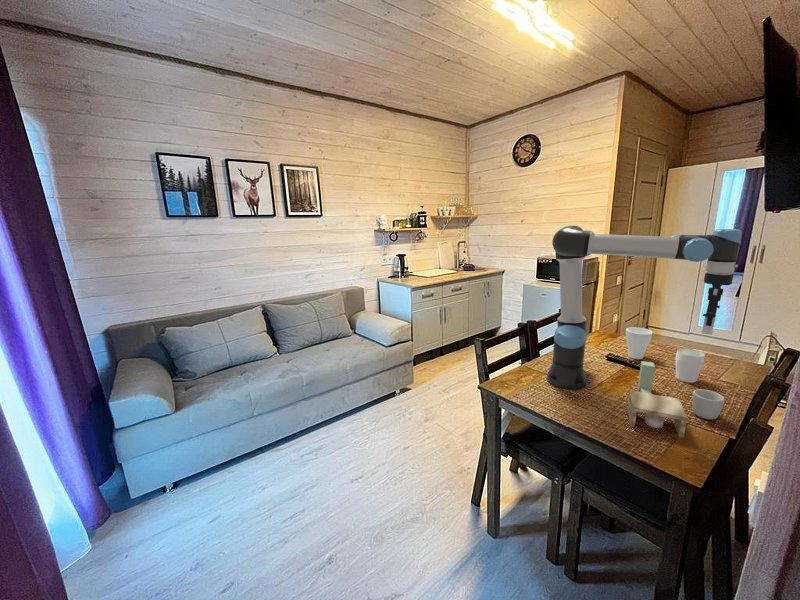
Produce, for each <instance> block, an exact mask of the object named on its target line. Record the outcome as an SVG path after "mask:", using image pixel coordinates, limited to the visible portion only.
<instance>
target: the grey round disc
mask: <svg viewBox="0 0 800 600" xmlns="http://www.w3.org/2000/svg"><path fill="white" fill-rule="evenodd" d="M644 423H645V424H646V425H647V426H649V427H652V428H655V429H661V428H663V427H664V423H665V419H664V417H663V416H659V415H654V414H649V413H645V418H644Z"/></svg>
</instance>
